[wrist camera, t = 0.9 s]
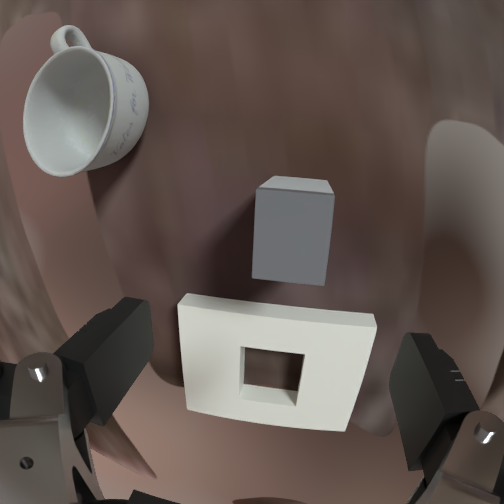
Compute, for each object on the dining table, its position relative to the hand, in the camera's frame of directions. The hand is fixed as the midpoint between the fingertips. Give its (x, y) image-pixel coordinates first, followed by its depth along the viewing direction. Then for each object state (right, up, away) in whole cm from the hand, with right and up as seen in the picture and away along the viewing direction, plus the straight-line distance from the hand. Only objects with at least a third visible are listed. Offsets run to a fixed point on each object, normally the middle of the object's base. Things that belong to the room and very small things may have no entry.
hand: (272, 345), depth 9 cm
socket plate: (+2, -9, +23) cm, 24 cm away
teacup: (-14, +18, +17) cm, 28 cm away
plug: (+3, +6, +18) cm, 19 cm away
